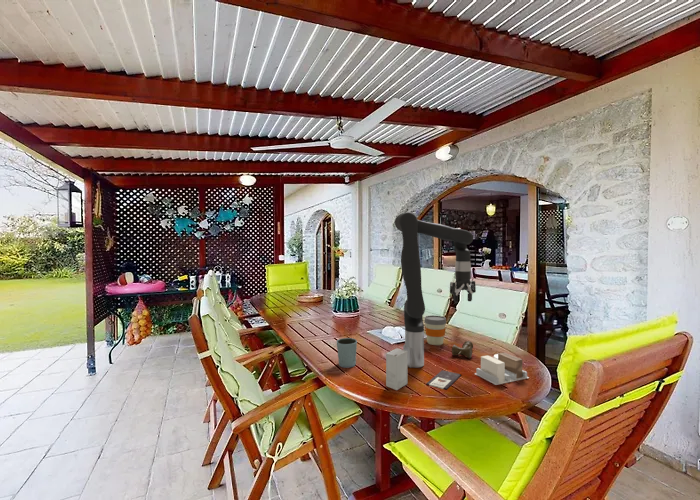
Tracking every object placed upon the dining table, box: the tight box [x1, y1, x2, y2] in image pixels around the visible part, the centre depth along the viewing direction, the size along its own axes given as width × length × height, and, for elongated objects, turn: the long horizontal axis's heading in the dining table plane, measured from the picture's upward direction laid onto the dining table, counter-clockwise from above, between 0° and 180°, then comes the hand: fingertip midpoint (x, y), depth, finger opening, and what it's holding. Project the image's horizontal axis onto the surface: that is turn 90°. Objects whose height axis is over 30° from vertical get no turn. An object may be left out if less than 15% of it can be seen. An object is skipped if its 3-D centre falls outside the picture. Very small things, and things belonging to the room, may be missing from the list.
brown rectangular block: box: [497, 352, 523, 379], centre depth 158 cm, size 4×10×8 cm, turn 22°
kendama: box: [451, 340, 474, 359], centre depth 187 cm, size 6×10×20 cm
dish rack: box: [474, 367, 530, 386], centre depth 156 cm, size 19×13×4 cm
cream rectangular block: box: [480, 355, 505, 382], centre depth 154 cm, size 4×10×8 cm, turn 21°
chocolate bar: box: [426, 369, 462, 391], centre depth 154 cm, size 9×1×18 cm
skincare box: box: [385, 347, 408, 391], centre depth 149 cm, size 8×6×15 cm
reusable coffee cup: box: [424, 315, 447, 346], centre depth 207 cm, size 12×13×15 cm
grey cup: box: [336, 337, 358, 369], centre depth 173 cm, size 10×10×12 cm
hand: (462, 301), depth 177 cm, fingers open, 8 cm apart
